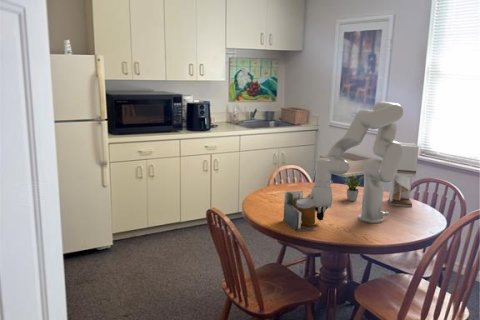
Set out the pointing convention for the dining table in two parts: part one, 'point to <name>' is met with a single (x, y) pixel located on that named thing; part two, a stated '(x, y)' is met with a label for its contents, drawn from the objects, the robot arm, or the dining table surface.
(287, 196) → the gauge frame
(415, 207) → the dining table surface
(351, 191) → the house plant
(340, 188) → the dining table surface
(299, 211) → the pale grey flat panel
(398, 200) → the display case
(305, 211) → the disposable coffee cup
